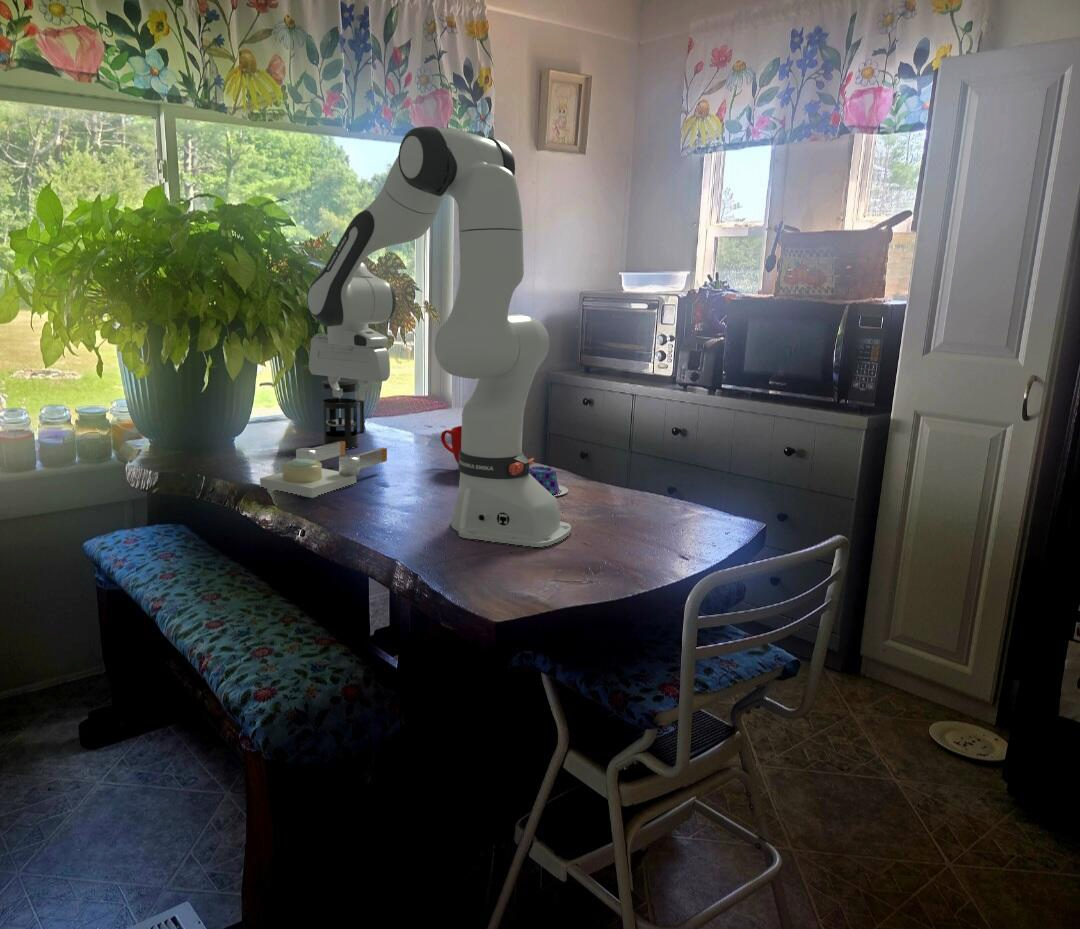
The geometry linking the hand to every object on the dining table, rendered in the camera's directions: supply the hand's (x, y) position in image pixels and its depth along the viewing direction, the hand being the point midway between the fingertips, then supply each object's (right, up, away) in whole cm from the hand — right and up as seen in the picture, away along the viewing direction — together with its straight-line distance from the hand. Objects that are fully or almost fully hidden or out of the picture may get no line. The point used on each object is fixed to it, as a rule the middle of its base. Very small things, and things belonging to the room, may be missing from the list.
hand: (348, 398), depth 182 cm
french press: (-9, -10, +31) cm, 34 cm away
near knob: (+4, -16, -2) cm, 17 cm away
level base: (-6, -19, -9) cm, 22 cm away
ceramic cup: (+26, -17, +11) cm, 33 cm away
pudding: (+43, -21, -5) cm, 48 cm away
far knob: (-7, -14, +3) cm, 16 cm away
